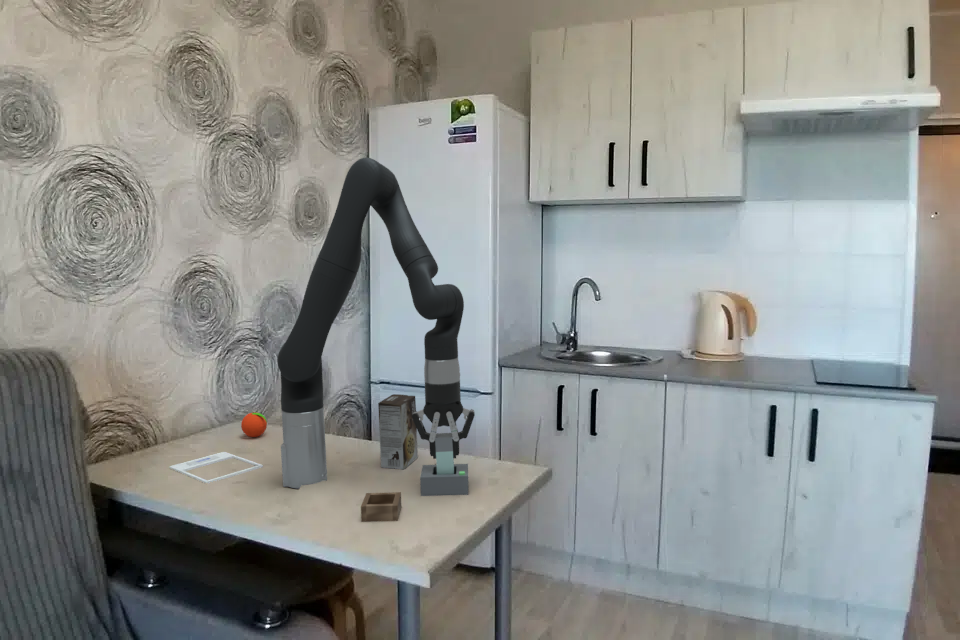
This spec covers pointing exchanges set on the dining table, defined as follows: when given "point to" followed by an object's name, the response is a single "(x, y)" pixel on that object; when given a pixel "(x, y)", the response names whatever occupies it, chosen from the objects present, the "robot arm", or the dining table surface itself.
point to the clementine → (254, 424)
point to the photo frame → (210, 460)
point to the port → (444, 481)
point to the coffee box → (397, 431)
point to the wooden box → (381, 507)
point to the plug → (444, 453)
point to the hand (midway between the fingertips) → (444, 457)
